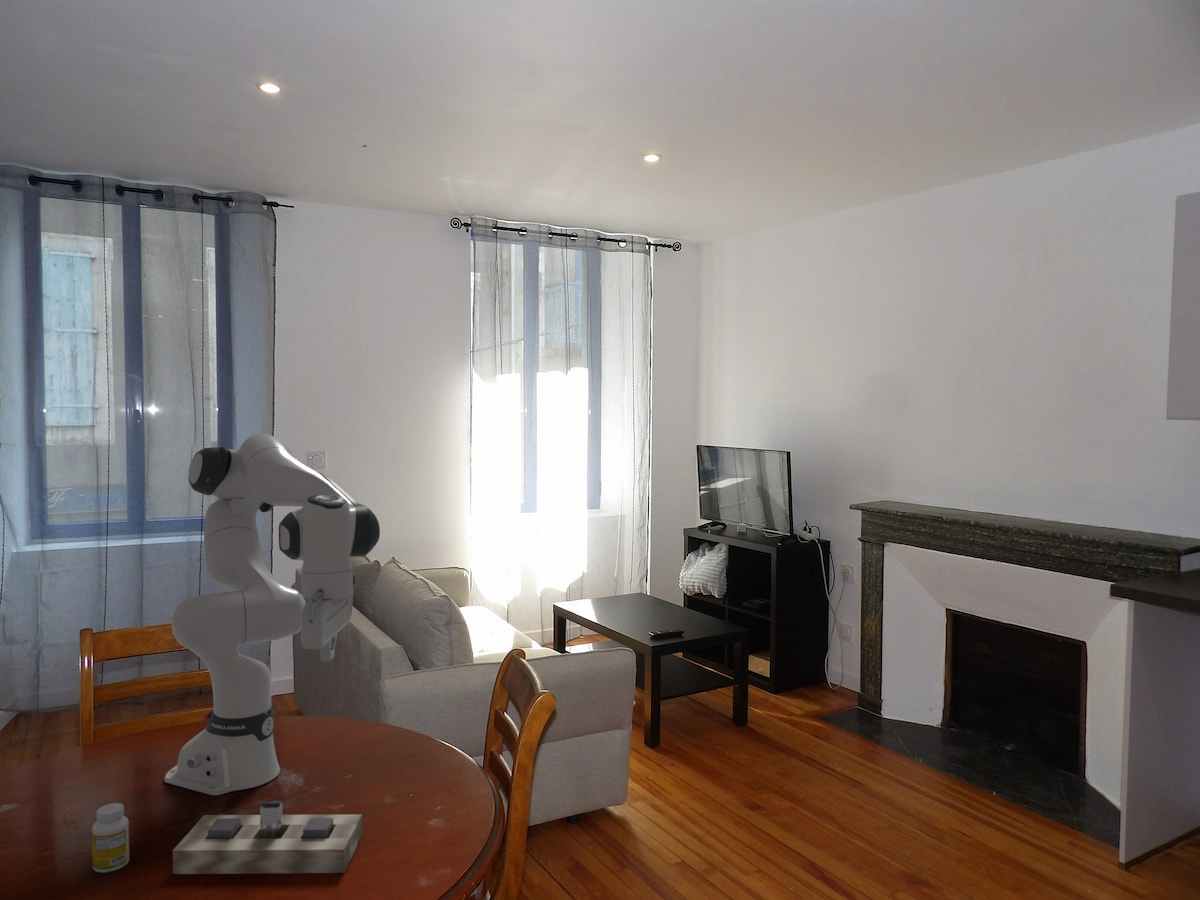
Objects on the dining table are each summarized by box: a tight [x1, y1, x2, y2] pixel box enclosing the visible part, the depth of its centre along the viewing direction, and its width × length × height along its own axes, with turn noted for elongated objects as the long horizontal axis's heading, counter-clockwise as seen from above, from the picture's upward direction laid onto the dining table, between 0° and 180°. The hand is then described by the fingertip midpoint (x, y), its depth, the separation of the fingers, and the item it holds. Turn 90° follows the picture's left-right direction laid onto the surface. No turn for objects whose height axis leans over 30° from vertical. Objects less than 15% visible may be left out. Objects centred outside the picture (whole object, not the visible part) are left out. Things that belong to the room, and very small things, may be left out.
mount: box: [172, 813, 363, 875], centre depth 146 cm, size 28×12×4 cm, turn 92°
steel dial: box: [259, 800, 284, 839], centre depth 145 cm, size 4×4×6 cm
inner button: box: [208, 819, 241, 839], centre depth 145 cm, size 4×4×5 cm
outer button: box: [303, 818, 333, 839], centre depth 146 cm, size 4×4×5 cm
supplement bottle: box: [91, 802, 130, 874], centre depth 142 cm, size 5×5×10 cm
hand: (327, 659), depth 154 cm, fingers closed
